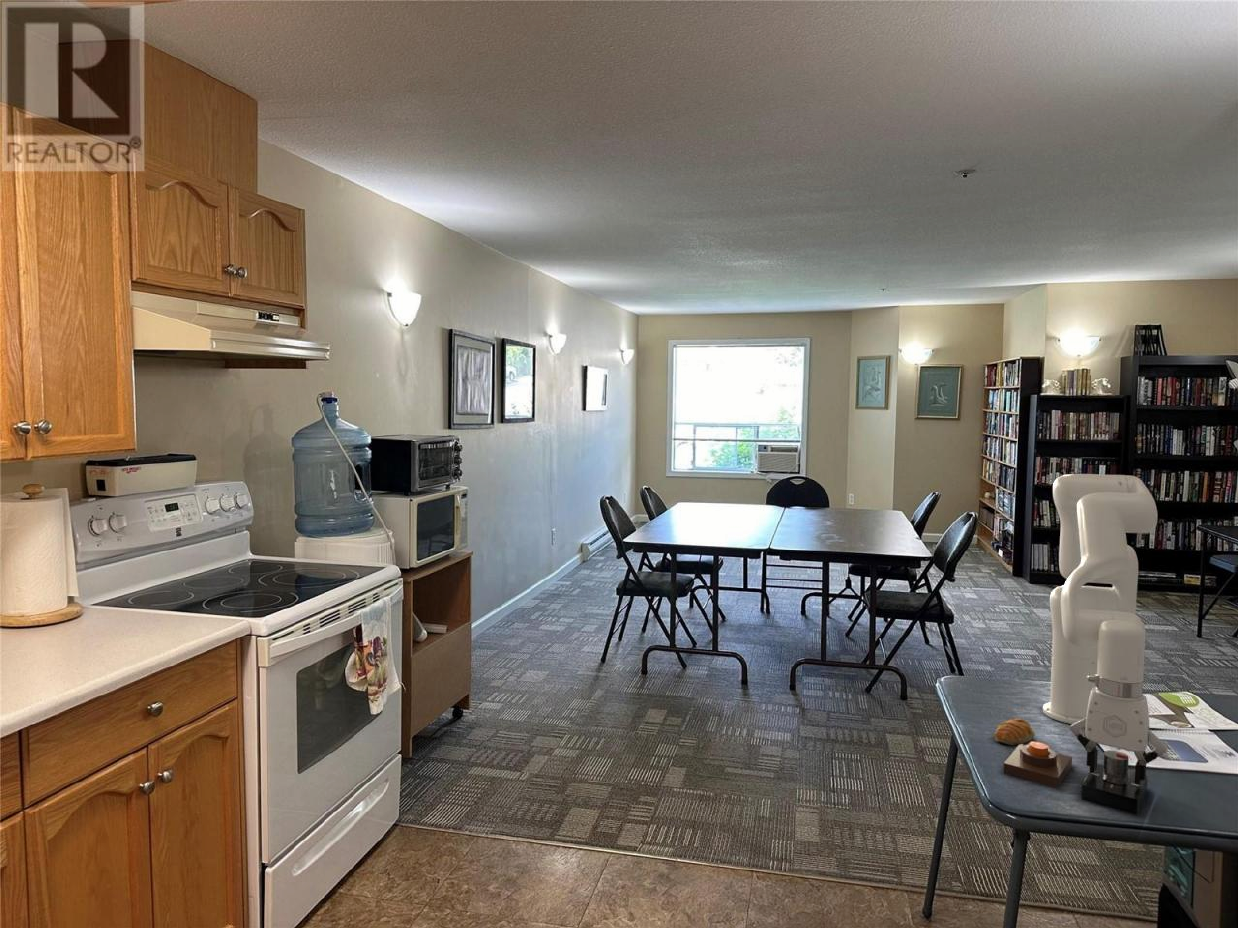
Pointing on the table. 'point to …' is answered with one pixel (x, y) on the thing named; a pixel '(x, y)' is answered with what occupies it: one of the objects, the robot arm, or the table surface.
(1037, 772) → the block
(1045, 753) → the button
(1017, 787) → the table surface
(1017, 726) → the pastry
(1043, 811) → the table surface
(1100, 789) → the dial panel
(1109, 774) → the dial
